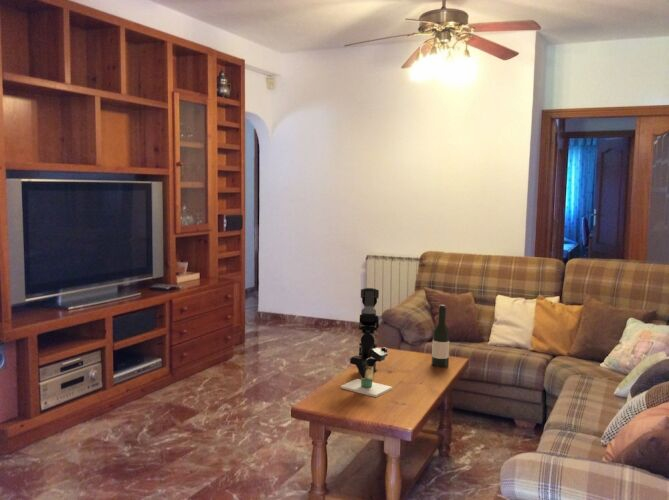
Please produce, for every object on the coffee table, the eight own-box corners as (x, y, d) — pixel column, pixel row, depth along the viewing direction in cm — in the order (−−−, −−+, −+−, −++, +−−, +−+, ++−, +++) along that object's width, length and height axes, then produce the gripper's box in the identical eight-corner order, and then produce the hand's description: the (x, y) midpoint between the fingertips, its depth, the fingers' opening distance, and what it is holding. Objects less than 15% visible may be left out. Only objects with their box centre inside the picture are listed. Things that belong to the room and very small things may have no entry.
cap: (358, 377, 266) (358, 366, 265) (365, 374, 270) (365, 363, 270) (368, 380, 263) (369, 368, 262) (375, 377, 267) (375, 366, 267)
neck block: (340, 388, 267) (341, 376, 267) (357, 380, 278) (357, 369, 277) (376, 397, 257) (376, 385, 256) (392, 389, 267) (392, 378, 267)
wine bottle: (449, 363, 307) (452, 304, 304) (447, 368, 300) (449, 307, 296) (433, 361, 310) (435, 302, 307) (430, 366, 302) (432, 305, 299)
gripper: (372, 348, 253) (370, 385, 254) (395, 340, 268) (393, 374, 270) (349, 344, 259) (348, 380, 261) (373, 335, 274) (372, 369, 276)
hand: (366, 376), depth 267 cm, fingers closed on cap, 5 cm apart
